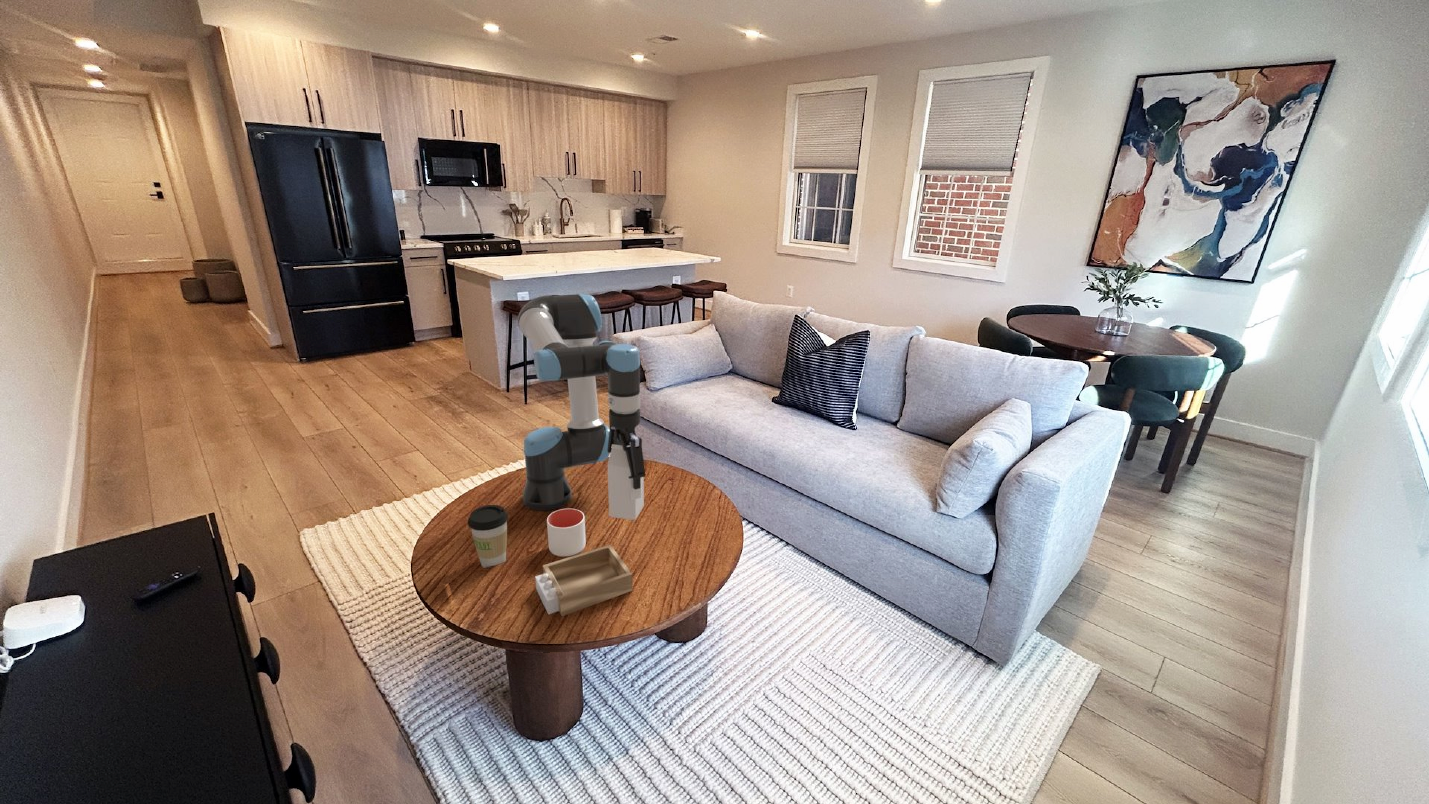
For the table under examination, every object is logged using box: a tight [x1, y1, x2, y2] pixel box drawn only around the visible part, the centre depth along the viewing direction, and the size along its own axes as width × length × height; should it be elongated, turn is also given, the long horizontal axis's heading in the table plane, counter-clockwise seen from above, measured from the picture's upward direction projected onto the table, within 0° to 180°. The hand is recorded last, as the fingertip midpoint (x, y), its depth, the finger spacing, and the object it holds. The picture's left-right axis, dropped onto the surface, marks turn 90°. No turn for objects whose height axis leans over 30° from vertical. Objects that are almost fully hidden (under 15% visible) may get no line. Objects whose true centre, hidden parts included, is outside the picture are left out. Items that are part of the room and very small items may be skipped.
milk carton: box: [606, 444, 645, 521], centre depth 141 cm, size 7×7×19 cm
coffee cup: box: [467, 504, 509, 569], centre depth 146 cm, size 10×10×15 cm
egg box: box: [534, 571, 564, 616], centre depth 133 cm, size 10×4×5 cm, turn 32°
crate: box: [542, 544, 634, 617], centre depth 138 cm, size 14×18×6 cm
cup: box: [546, 508, 587, 557], centre depth 153 cm, size 10×10×10 cm
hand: (626, 489), depth 142 cm, fingers closed on milk carton, 10 cm apart
